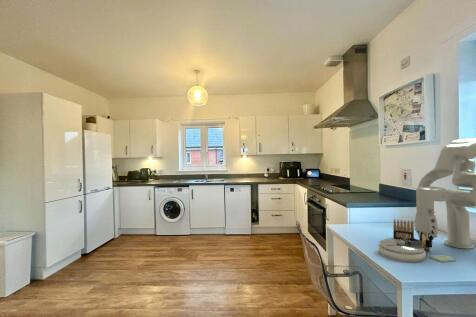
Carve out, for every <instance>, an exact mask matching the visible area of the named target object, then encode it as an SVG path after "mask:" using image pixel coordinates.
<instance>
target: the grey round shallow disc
mask: <svg viewBox="0 0 476 317" xmlns="http://www.w3.org/2000/svg"><path fill="white" fill-rule="evenodd" d="M379 244H380V247H382V248H383V249H385V250H388V251H391V252H396V253H401V254H422V253H424V247H423V246H422V241H420V240H419V239H417V238H415V237H414V238H411V237H410V238H403V240H400V239H391V238H390V239H388V238H387V239H382V240H380V241H379Z"/></svg>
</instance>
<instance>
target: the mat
mask: <svg viewBox="0 0 476 317" xmlns="http://www.w3.org/2000/svg"><path fill="white" fill-rule="evenodd" d="M429 258H430V259H432V260H435V261H437V262H439V263H452V262H456V261H457V260H456V259H455V258H453V257H450V256H448V255H443V254H442V255H441V254H439V255H429Z"/></svg>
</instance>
